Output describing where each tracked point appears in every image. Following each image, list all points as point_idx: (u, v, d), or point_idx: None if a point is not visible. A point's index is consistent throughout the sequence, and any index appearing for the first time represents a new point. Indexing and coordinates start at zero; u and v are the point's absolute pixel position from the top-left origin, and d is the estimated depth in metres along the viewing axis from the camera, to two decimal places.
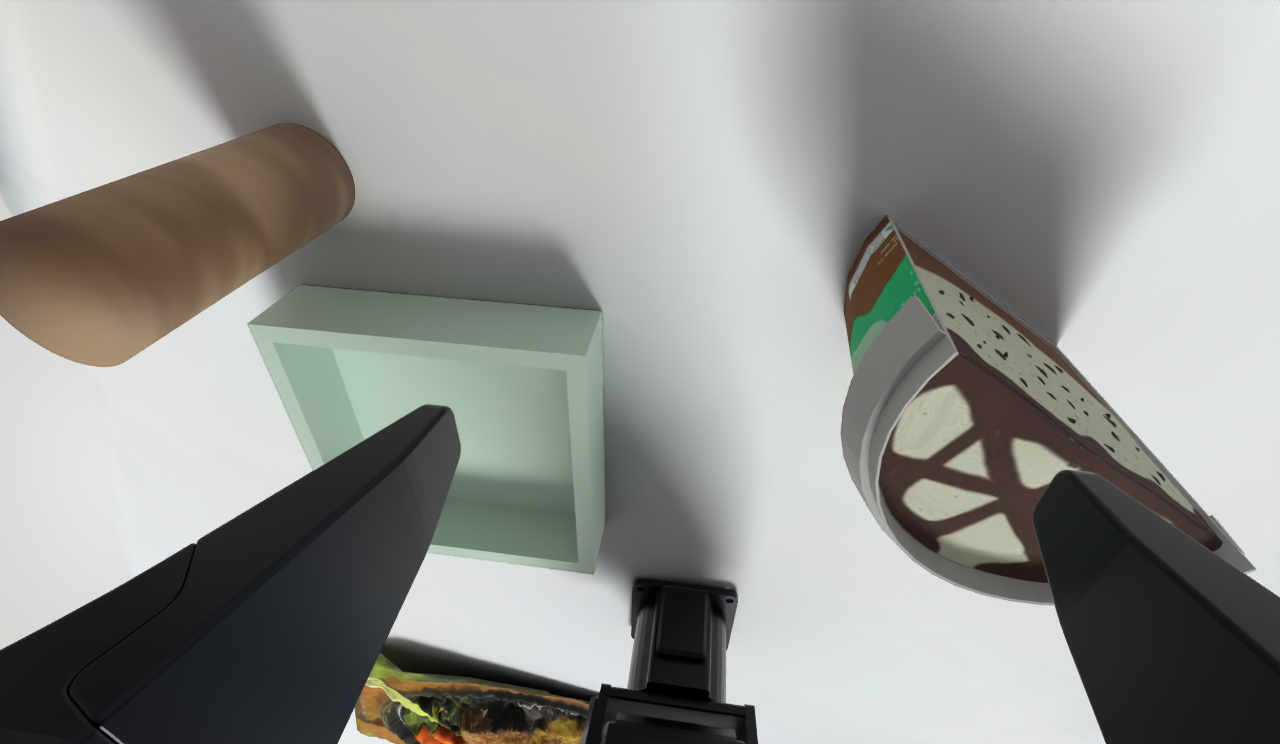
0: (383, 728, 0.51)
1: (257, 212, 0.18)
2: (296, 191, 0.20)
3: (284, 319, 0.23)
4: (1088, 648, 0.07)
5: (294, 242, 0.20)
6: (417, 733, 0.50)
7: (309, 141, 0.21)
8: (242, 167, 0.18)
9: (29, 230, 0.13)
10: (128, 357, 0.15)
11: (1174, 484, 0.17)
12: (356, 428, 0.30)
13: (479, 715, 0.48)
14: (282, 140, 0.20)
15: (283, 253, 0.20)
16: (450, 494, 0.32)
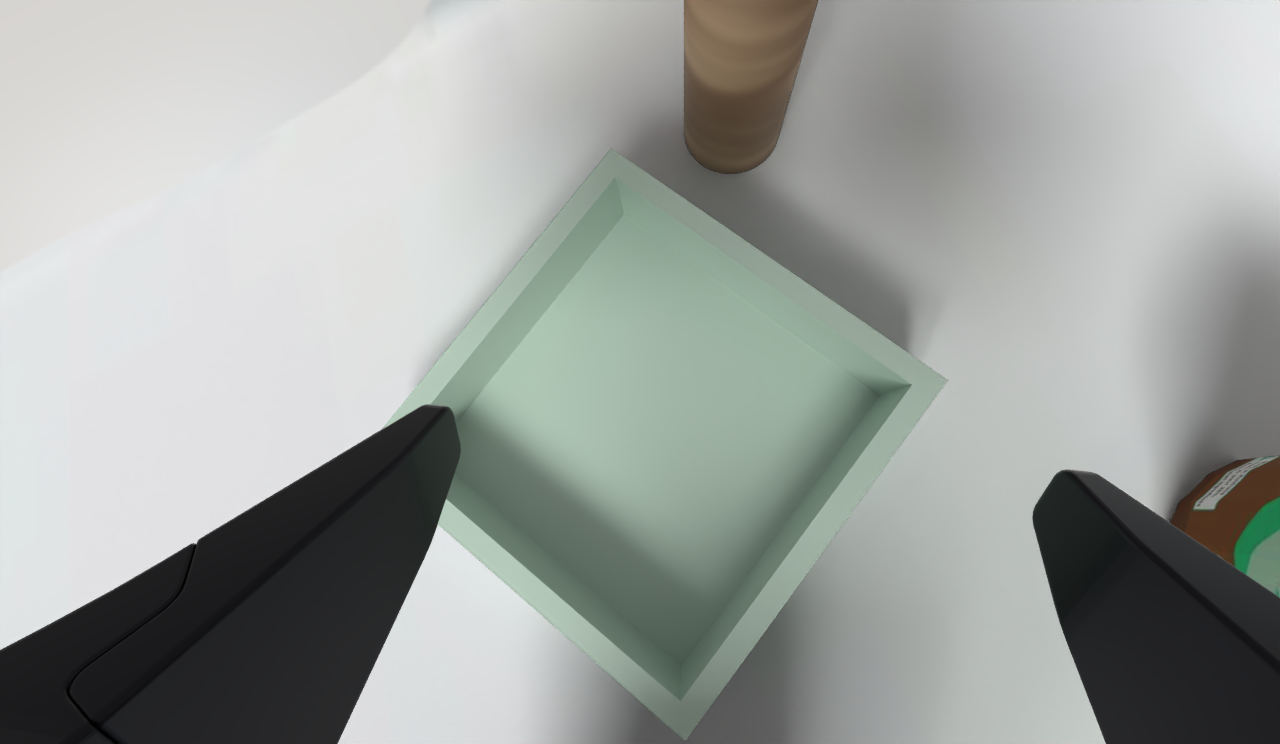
0: None
1: (801, 56, 0.19)
2: (790, 94, 0.21)
3: None
4: (1088, 648, 0.07)
5: (761, 114, 0.20)
6: None
7: None
8: None
9: None
10: None
11: None
12: (511, 350, 0.23)
13: None
14: None
15: (756, 107, 0.19)
16: (520, 511, 0.22)
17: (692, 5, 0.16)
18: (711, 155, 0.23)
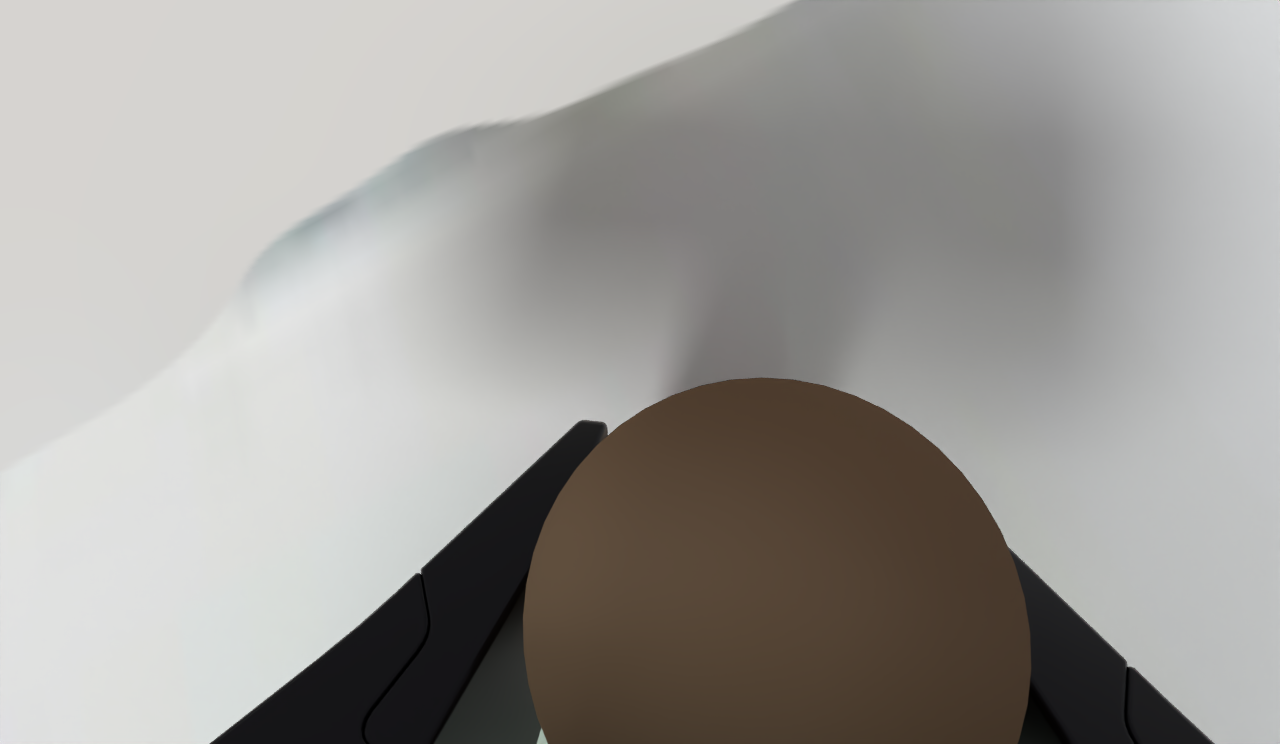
0: None
1: None
2: None
3: None
4: None
5: None
6: None
7: None
8: None
9: (945, 474, 0.05)
10: None
11: None
12: None
13: None
14: None
15: None
16: None
17: None
18: None
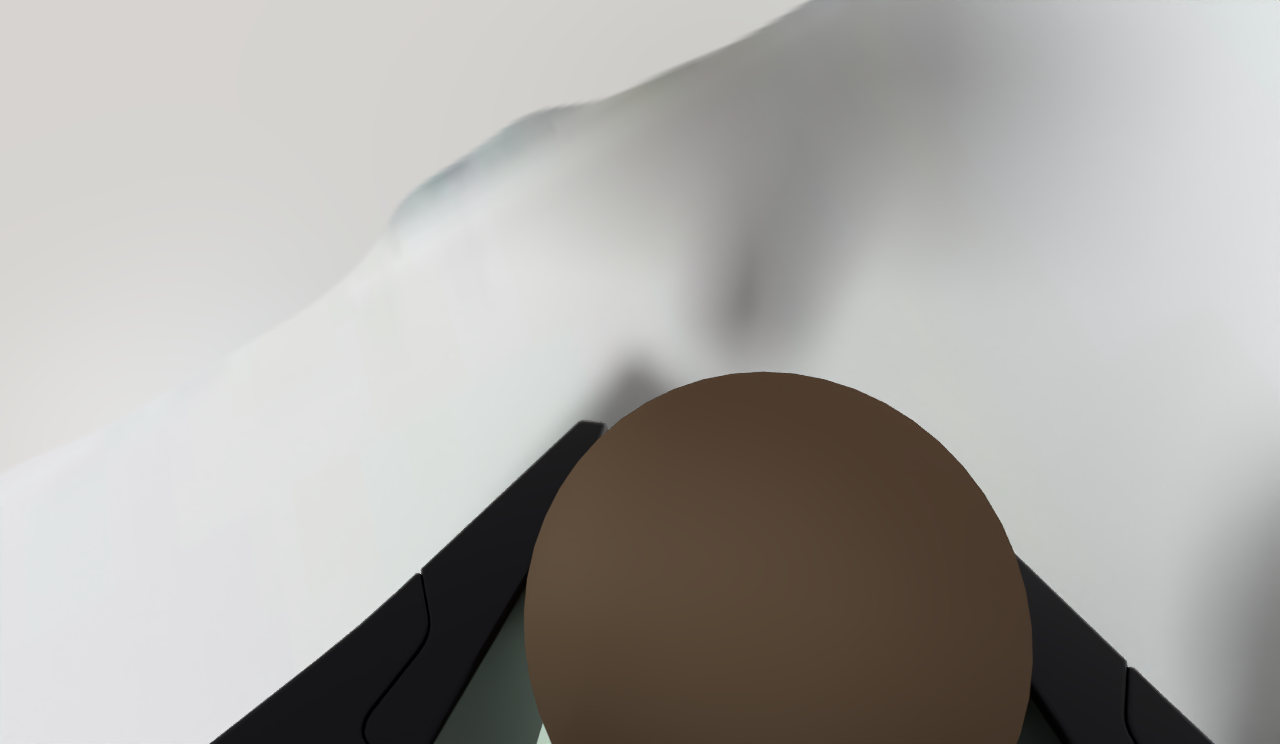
0: None
1: None
2: None
3: None
4: None
5: None
6: None
7: None
8: None
9: (946, 468, 0.05)
10: None
11: None
12: None
13: None
14: None
15: None
16: None
17: None
18: None
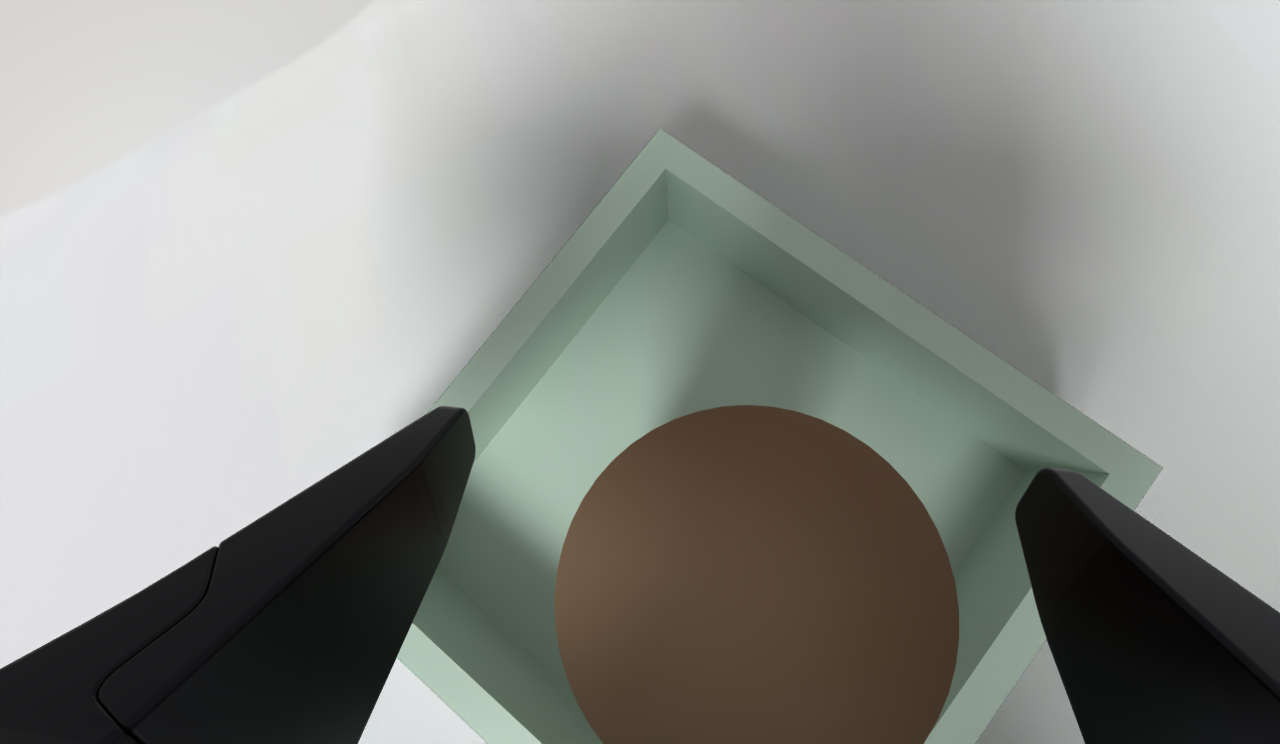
0: None
1: None
2: None
3: None
4: (1067, 645, 0.07)
5: None
6: None
7: None
8: None
9: (895, 483, 0.06)
10: None
11: None
12: (518, 403, 0.17)
13: None
14: None
15: None
16: (529, 627, 0.16)
17: None
18: None
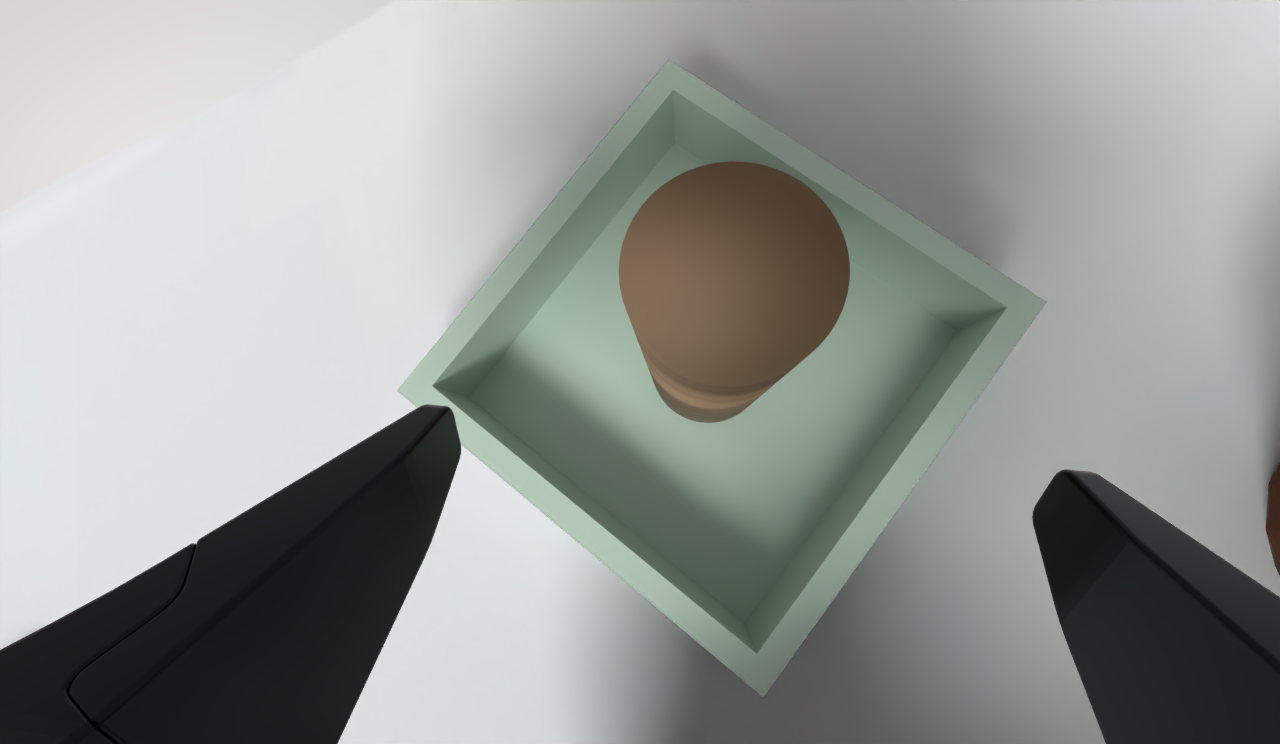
0: None
1: None
2: None
3: None
4: (1088, 648, 0.07)
5: (739, 408, 0.16)
6: None
7: None
8: None
9: (815, 203, 0.10)
10: (735, 379, 0.10)
11: None
12: (555, 286, 0.21)
13: None
14: None
15: (731, 410, 0.16)
16: (566, 458, 0.20)
17: (642, 351, 0.12)
18: (682, 414, 0.19)
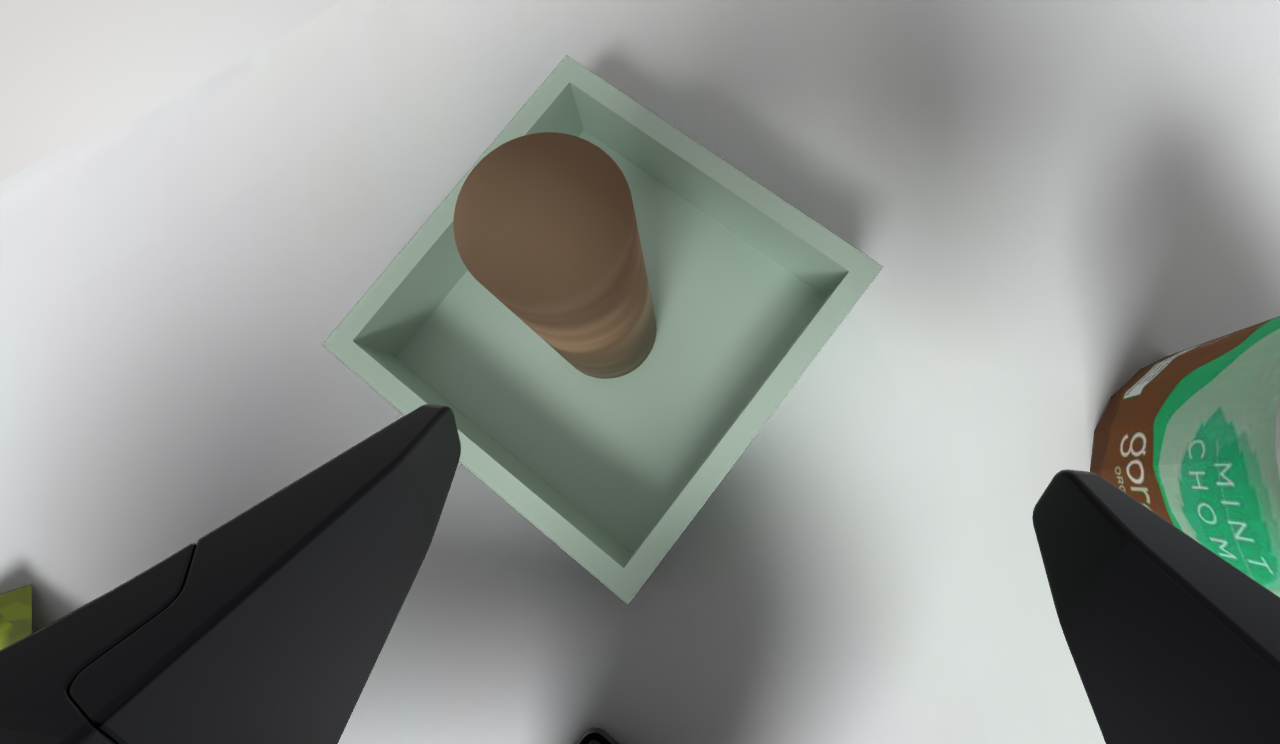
0: None
1: (643, 311, 0.17)
2: (647, 326, 0.19)
3: None
4: (1088, 648, 0.07)
5: (611, 357, 0.19)
6: None
7: None
8: None
9: (612, 165, 0.13)
10: (539, 303, 0.12)
11: None
12: None
13: None
14: None
15: (601, 356, 0.18)
16: (480, 410, 0.23)
17: None
18: (578, 368, 0.21)
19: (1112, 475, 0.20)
